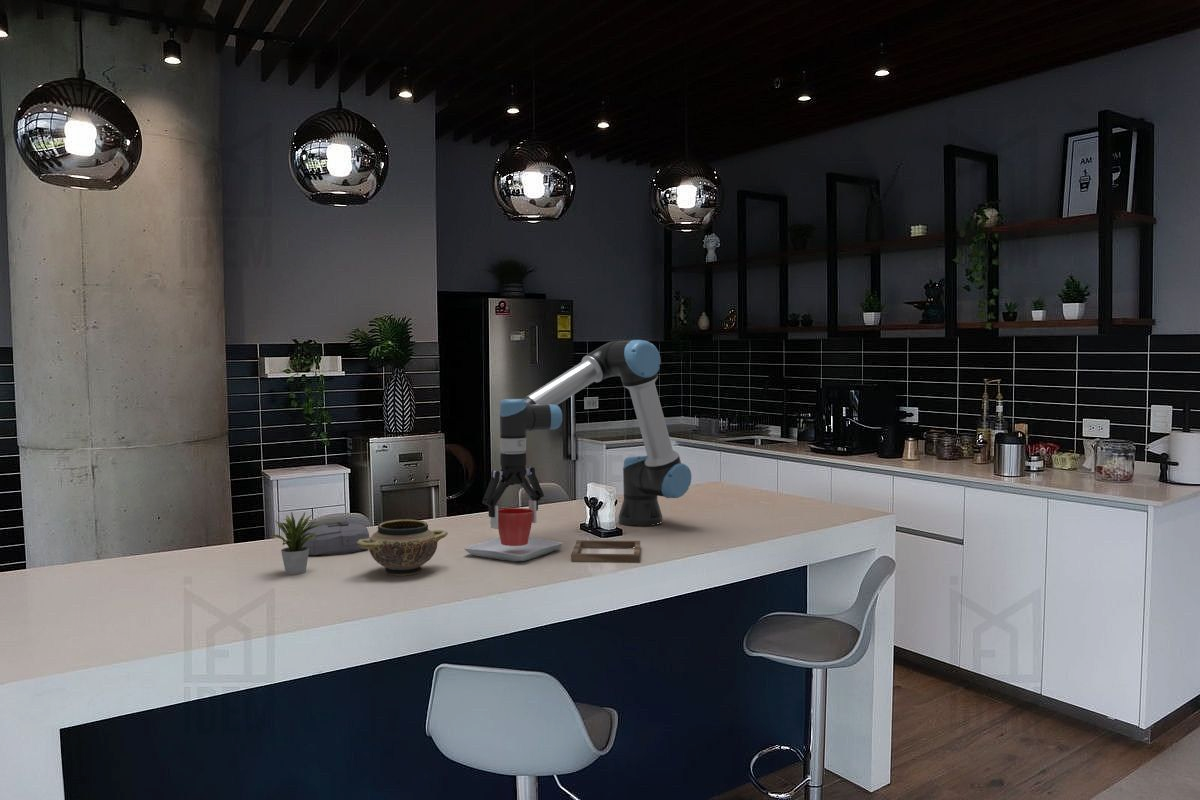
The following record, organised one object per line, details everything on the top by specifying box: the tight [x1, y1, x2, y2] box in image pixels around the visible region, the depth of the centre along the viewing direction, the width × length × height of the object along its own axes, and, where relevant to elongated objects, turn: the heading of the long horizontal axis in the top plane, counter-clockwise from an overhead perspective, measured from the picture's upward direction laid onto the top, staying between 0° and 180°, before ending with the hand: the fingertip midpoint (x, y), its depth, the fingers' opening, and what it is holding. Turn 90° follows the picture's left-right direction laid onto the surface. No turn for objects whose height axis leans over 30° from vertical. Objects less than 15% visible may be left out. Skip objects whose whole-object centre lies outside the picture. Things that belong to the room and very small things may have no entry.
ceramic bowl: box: [357, 518, 449, 577], centre depth 231 cm, size 24×18×15 cm
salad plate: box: [464, 537, 564, 562], centre depth 252 cm, size 21×21×3 cm
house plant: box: [270, 510, 322, 576], centre depth 229 cm, size 14×14×16 cm
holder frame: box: [570, 539, 641, 563], centre depth 250 cm, size 19×19×2 cm
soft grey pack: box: [301, 521, 371, 556], centre depth 256 cm, size 15×8×20 cm
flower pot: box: [497, 507, 534, 546], centre depth 252 cm, size 11×11×10 cm
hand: (513, 525), depth 252 cm, fingers open, 13 cm apart
